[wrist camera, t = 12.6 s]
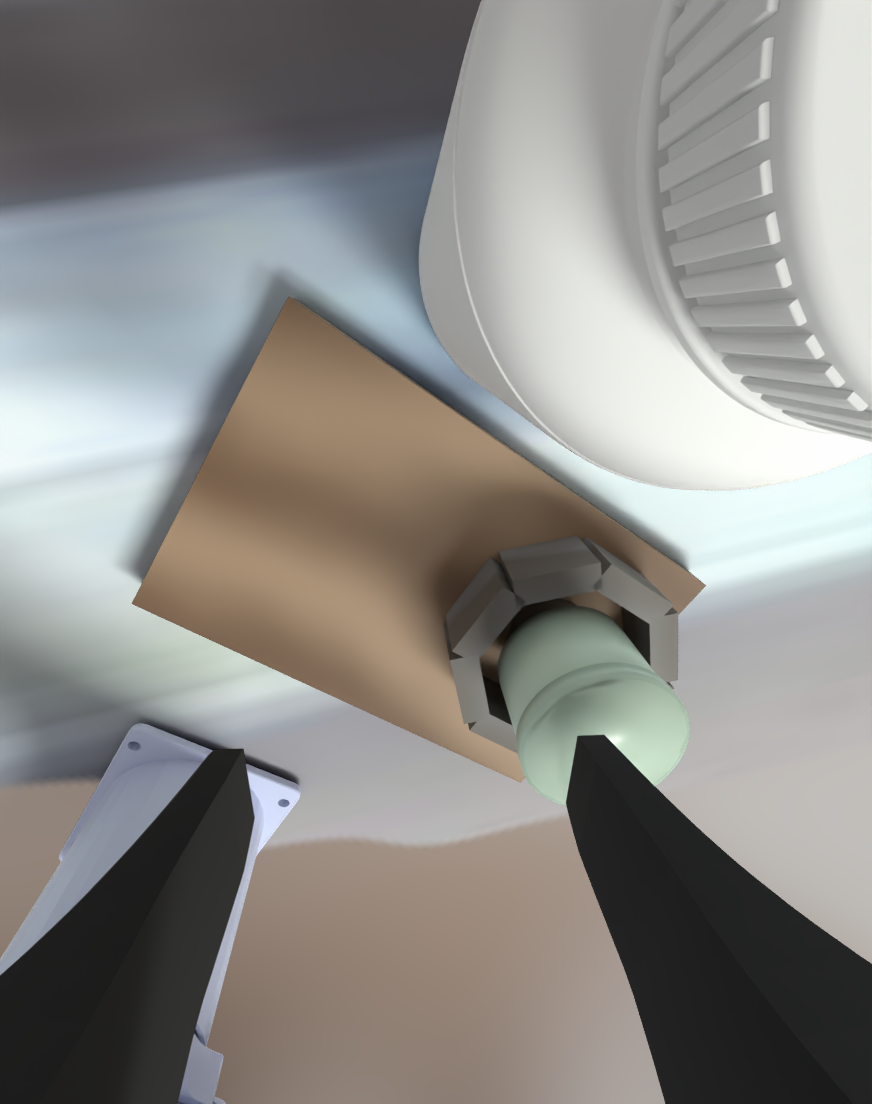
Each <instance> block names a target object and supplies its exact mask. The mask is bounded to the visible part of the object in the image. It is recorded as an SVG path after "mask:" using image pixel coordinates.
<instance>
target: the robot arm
mask: <svg viewBox="0 0 872 1104" xmlns="http://www.w3.org/2000/svg"><path fill="white" fill-rule="evenodd" d="M133 741H134V742H133ZM135 742H137V743H139V744H136V743H135ZM300 794H301V788H300V786H299V785H297V784H296V783H294V782H291V781H289V780H286V779H283V778H281V777H278V776H276V775H273V774H271V773H268V772H266V771H263V770H261V769H258V768H256V767H253V766H251V765H248V764H246V762H245V755H244V749H222V750H210V749H208V748H205V747H203V746H200V745H198V744H195V743H193V742H190V741H188V740H185V739H182V738H180V737H177V736H175V735H172V734H170V733H167V732H165V731H162V730H160V729H157V728H155V727H152V726H150V725H147V724H143V723H140V724H135V725H133V726H132V727H131V728H130V730H129V732H128V733H127V735H126V737H125V738H124V740H123V742H122V744H121V745H120V747H119V749H118V751H117V753H116V754H115V756H114V758H113V760H112V761H111V763H110V765H109V767H108V769H107V770H106V772H105V774H104V776H103V777H102V779H101V781H100V783H99V785H98V786H97V788H96V790H95V792H94V793H93V795H92V797H91V799H90V801H89V802H88V804H87V806H86V808H85V810H84V811H83V813H82V815H81V817H80V818H79V820H78V822H77V824H76V826H75V827H74V829H73V831H72V833H71V834H70V836H69V838H68V840H67V841H66V843H65V845H64V847H63V849H62V850H61V852H60V854H59V858H60V860H61V863H60V865H59V866H58V868H57V869H56V871H55V873H54V874H53V876H52V878H51V879H50V881H49V882H48V884H47V885H46V887H45V889H44V890H43V892H42V893H41V895H40V897H39V899H38V900H37V901H36V903H35V905H34V906H33V908H32V909H31V911H30V913H29V914H28V916H27V917H26V919H25V921H24V922H23V924H22V925H21V927H20V928H19V930H18V932H17V933H16V935H15V936H14V938H13V940H12V942H11V943H10V945H9V946H8V948H7V949H6V951H5V953H4V954H3V956H2V957H1V959H0V1104H226V1103H225V1102H224V1101H223V1100H222V1099H219V1098H217V1097H214V1096H215V1092H216V1087H217V1083H218V1079H219V1074H220V1070H221V1066H222V1062H223V1055H222V1054H220V1053H218V1052H215V1051H213V1050H211V1049H209V1048H207V1047H206V1045H207V1041H208V1037H209V1034H210V1030H211V1026H212V1022H213V1018H214V1014H215V1011H216V1007H217V1003H218V999H219V996H220V992H221V988H222V984H223V980H224V976H225V973H226V969H227V965H228V961H229V958H230V953H231V950H232V946H233V942H234V938H235V934H236V931H237V927H238V923H239V919H240V916H241V912H242V908H243V904H244V900H245V896H246V893H247V889H248V885H249V881H250V877H251V874H252V870H253V866H254V862H255V858H256V855H257V854H258V853H259V851H260V850H261V849H262V847H263V846H264V845H265V843H266V842H267V841H268V839H269V838H270V837H271V835H272V834H273V833H274V832H275V830H276V829H277V828H278V826H279V825H280V824H281V822H282V821H283V820H284V818H285V817H286V816H287V814H288V813H289V812H290V810H291V809H292V808H293V806H294V805H295V804H296V802H297V801H298V800H299V798H300ZM283 799H286V800H283ZM566 806H567V809H568V813H569V817H570V821H571V825H572V828H573V833H574V836H575V839H576V843H577V847H578V850H579V853H580V856H581V859H582V861H583V864H584V867H585V869H586V872H587V874H588V877H589V880H590V882H591V885H592V887H593V890H594V893H595V895H596V898H597V900H598V903H599V905H600V908H601V911H602V913H603V916H604V918H605V921H606V923H607V926H608V928H609V931H610V933H611V936H612V938H613V941H614V944H615V946H616V949H617V951H618V954H619V957H620V959H621V962H622V964H623V967H624V970H625V972H626V975H627V978H628V981H629V984H630V987H631V989H632V992H633V995H634V998H635V1002H636V1005H637V1008H638V1011H639V1015H640V1018H641V1021H642V1025H643V1028H644V1031H645V1034H646V1038H647V1041H648V1045H649V1048H650V1051H651V1054H652V1058H653V1061H654V1065H655V1068H656V1072H657V1075H658V1079H659V1082H660V1086H661V1089H662V1093H663V1096H664V1100H665V1104H872V964H871V963H870V962H868V961H867V960H865V959H864V958H862V957H860V956H859V955H858V954H856V953H855V952H853V951H852V950H851V949H849V948H848V947H847V946H845V945H844V944H842V943H841V942H840V941H838V940H837V939H835V938H834V937H832V936H831V935H830V934H828V933H827V932H825V931H824V930H823V929H821V928H820V927H818V926H817V925H815V924H814V923H813V922H812V921H810V920H809V919H808V918H806V917H805V916H804V915H802V914H801V913H799V912H798V911H797V910H795V909H794V908H793V907H791V906H790V905H789V904H787V903H786V902H785V901H784V900H782V899H781V898H780V897H779V896H778V895H776V894H775V893H774V892H772V891H771V890H770V889H768V888H767V887H766V886H765V885H764V884H762V883H761V882H760V881H759V880H757V879H756V878H755V877H754V876H752V875H751V874H750V873H749V872H748V871H746V870H745V869H744V868H743V867H741V866H740V865H739V864H738V863H737V862H736V861H734V860H733V859H732V858H731V857H730V856H729V855H727V854H726V853H725V852H724V851H723V850H722V849H721V848H720V847H718V846H717V845H716V844H715V843H714V842H713V841H712V840H710V838H708V837H707V836H706V835H705V834H704V833H702V831H701V830H700V829H698V828H697V827H696V826H695V825H694V824H693V823H692V822H691V821H690V820H689V819H688V818H687V817H686V816H685V815H684V814H683V813H681V811H679V810H678V809H677V808H676V807H675V806H674V805H673V804H672V803H671V802H670V801H669V800H668V799H667V798H666V797H665V796H664V795H663V794H662V793H661V792H660V791H659V790H658V789H657V788H656V787H655V786H654V785H653V784H652V783H651V782H650V781H649V780H648V779H647V778H646V777H645V776H644V775H643V774H642V773H641V772H640V771H639V770H638V769H637V768H636V767H635V766H634V765H633V764H632V762H631V761H630V760H629V759H628V758H627V757H626V756H625V755H624V754H623V753H622V752H621V751H620V750H619V749H618V748H617V747H616V746H615V745H614V744H613V743H612V742H611V741H610V740H609V739H608V738H607V737H606V736H605V735H581V736H577V741H576V747H575V753H574V758H573V764H572V770H571V776H570V781H569V787H568V793H567V798H566Z"/></svg>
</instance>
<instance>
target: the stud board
mask: <svg viewBox="0 0 872 1104" xmlns="http://www.w3.org/2000/svg"><path fill="white" fill-rule="evenodd" d="M705 586H706V585H705V584H704V583H702V582H701V581H700V580H699V579H697V578H696V577H695V576H694V575H693V574H691V573H690V572H689V571H687V570H686V569H684V568H683V567H682V566H680V565H679V564H677V563H676V562H674V561H673V560H671V559H670V558H669V557H667V556H666V555H664V554H663V553H661V552H660V551H658V550H657V549H656V548H654V547H653V546H651V545H650V544H648V543H647V542H645V541H644V540H643V539H641V538H640V537H638V536H637V535H635V534H634V533H632V532H631V531H630V530H628V529H627V528H625V527H624V526H622V525H621V524H619V523H618V522H617V521H615V520H614V519H612V518H611V517H609V516H608V515H607V514H605V513H604V512H602V511H601V510H599V509H598V508H596V507H595V506H594V505H592V504H591V503H589V502H588V501H586V500H585V499H583V498H582V497H581V496H579V495H578V494H576V493H575V492H573V491H572V490H570V489H569V488H568V487H566V486H565V485H563V484H562V483H560V482H559V481H557V480H556V479H555V478H553V477H552V476H550V475H549V474H547V473H546V472H544V471H543V470H542V469H540V468H539V467H537V466H536V465H534V464H533V463H531V462H530V461H529V460H527V459H526V458H524V457H523V456H521V455H520V454H519V453H517V452H516V451H514V450H513V449H511V448H510V447H508V446H507V445H506V444H504V443H503V442H501V441H500V440H498V439H497V438H495V437H494V436H493V435H491V434H490V433H488V432H487V431H485V430H484V429H482V428H481V427H480V426H478V425H477V424H475V423H474V422H472V421H471V420H469V419H468V418H467V417H465V416H464V415H462V414H461V413H459V412H458V411H456V410H455V409H454V408H452V407H451V406H449V405H448V404H446V403H445V402H443V401H442V400H441V399H439V398H438V397H436V396H435V395H433V394H432V393H431V392H429V391H428V390H426V389H425V388H423V387H422V386H420V385H419V384H418V383H416V382H415V381H413V380H412V379H410V378H409V377H407V376H406V375H405V374H403V373H402V372H400V371H399V370H397V369H396V368H394V367H393V366H392V365H390V364H389V363H387V362H386V361H384V360H383V359H381V358H380V357H379V356H377V355H376V354H374V353H373V352H371V351H370V350H368V349H367V348H366V347H364V346H363V345H361V344H360V343H358V342H357V341H356V340H354V339H353V338H351V337H350V336H348V335H347V334H345V333H344V332H343V331H341V330H340V329H338V328H337V327H335V326H334V325H332V324H331V323H330V322H328V321H327V320H325V319H324V318H322V317H321V316H319V315H318V314H317V313H315V312H314V311H312V310H311V309H309V308H308V307H306V306H305V305H304V304H302V303H301V302H299V301H298V300H296V299H294V298H291V297H288V298H287V300H286V302H285V304H284V306H283V308H282V310H281V312H280V314H279V316H278V318H277V320H276V322H275V323H274V325H273V327H272V329H271V331H270V333H269V335H268V337H267V339H266V341H265V343H264V345H263V347H262V349H261V351H260V353H259V355H258V357H257V359H256V361H255V363H254V365H253V367H252V369H251V371H250V373H249V374H248V376H247V378H246V380H245V382H244V384H243V386H242V388H241V390H240V392H239V394H238V396H237V398H236V400H235V402H234V404H233V406H232V408H231V410H230V412H229V414H228V416H227V418H226V420H225V422H224V424H223V426H222V427H221V429H220V431H219V433H218V435H217V437H216V439H215V441H214V443H213V445H212V447H211V449H210V451H209V453H208V455H207V457H206V459H205V461H204V463H203V465H202V467H201V469H200V471H199V473H198V475H197V477H196V478H195V480H194V482H193V484H192V486H191V488H190V490H189V492H188V494H187V496H186V498H185V500H184V502H183V504H182V506H181V508H180V510H179V512H178V514H177V516H176V518H175V520H174V522H173V524H172V526H171V528H170V530H169V531H168V533H167V535H166V537H165V539H164V541H163V543H162V545H161V547H160V549H159V551H158V553H157V555H156V557H155V559H154V561H153V563H152V565H151V567H150V569H149V571H148V573H147V575H146V577H145V579H144V581H143V582H142V584H141V586H140V588H139V590H138V592H137V594H136V596H135V598H134V600H133V602H132V604H133V605H135V606H138V607H140V608H142V609H144V610H146V611H148V612H151V613H153V614H155V615H157V616H159V617H161V618H164V619H166V620H168V621H170V622H172V623H175V624H177V625H179V626H181V627H183V628H185V629H188V630H190V631H192V632H194V633H196V634H198V635H201V636H203V637H205V638H207V639H209V640H211V641H214V642H216V643H218V644H220V645H222V646H225V647H227V648H229V649H231V650H233V651H235V652H238V653H240V654H242V655H244V656H246V657H248V658H251V659H253V660H255V661H257V662H259V663H261V664H264V665H266V666H268V667H270V668H272V669H275V670H277V671H279V672H281V673H283V674H285V675H288V676H290V677H292V678H294V679H296V680H298V681H301V682H303V683H305V684H307V685H309V686H311V687H314V688H316V689H318V690H320V691H322V692H325V693H327V694H329V695H331V696H333V697H335V698H338V699H340V700H342V701H344V702H346V703H348V704H351V705H353V706H355V707H357V708H359V709H361V710H364V711H366V712H368V713H370V714H372V715H375V716H377V717H379V718H381V719H383V720H385V721H388V722H390V723H392V724H394V725H396V726H398V727H401V728H403V729H405V730H407V731H409V732H411V733H414V734H416V735H418V736H420V737H422V738H425V739H427V740H429V741H431V742H433V743H435V744H438V745H440V746H442V747H444V748H446V749H448V750H451V751H453V752H455V753H457V754H459V755H462V756H464V757H466V758H468V759H470V760H472V761H475V762H477V763H479V764H481V765H483V766H485V767H488V768H490V769H492V770H494V771H496V772H498V773H501V774H503V775H505V776H507V777H509V778H512V779H514V780H516V781H518V782H521V781H522V780H523V779H524V778H525V776H524V773H523V770H522V768H521V764H520V761H519V757H518V754H517V749H516V736H515V732H514V729H513V726H512V722H511V719H510V716H509V712H508V709H507V706H506V702H505V699H504V696H503V692H502V689H501V686H500V682H499V678H498V660H499V656H500V653H501V650H502V648H503V646H504V644H505V642H506V641H507V639H508V638H509V636H510V635H511V634H512V633H513V632H514V631H515V630H516V629H517V628H518V627H519V626H520V625H521V624H522V623H524V622H525V621H526V620H528V619H529V618H531V617H533V616H534V615H536V614H539V613H541V612H543V611H546V610H549V609H552V608H556V607H562V606H584V607H589V608H593V609H596V610H598V611H601V612H603V613H605V614H606V615H608V616H610V617H611V618H612V619H613V620H614V621H615V622H616V623H617V624H618V625H619V626H620V627H621V629H622V630H623V631H624V633H625V634H626V635H627V637H628V638H629V639H630V641H631V642H632V643H633V644H634V646H635V647H636V648H637V650H638V651H639V652H640V654H641V655H642V656H643V658H644V659H645V660H646V661H647V663H648V664H649V665H650V667H651V668H652V669H653V671H654V672H655V673H656V674H657V675H658V676H660V677H661V678H662V679H664V680H665V681H666V683H667V684H668V685H669V686H670V687H671V688H672V690H673V689H674V688H673V686H672V685H671V684H670V683H669V682H670V681H675V680H678V615H679V614H680V613H681V612H682V611H683V609H684V608H685V607H686V606H687V605H688V604H689V603H690V602H691V601H692V600H693V599H694V598H695V597H696V596H697V595H698V594H699V592H700V591H701V590H702V589H703V588H704V587H705Z"/></svg>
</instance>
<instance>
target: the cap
mask: <svg viewBox="0 0 872 1104" xmlns="http://www.w3.org/2000/svg"><path fill="white" fill-rule="evenodd" d="M498 678H499V682H500V686H501V689H502V692H503V696H504V699H505V702H506V706H507V709H508V712H509V716H510V719H511V722H512V726H513V729H514V732H515V736H516V749H517V754H518V757H519V761H520V764H521V768H522V770H523V773H524V776H525V778H526V779H527V781H528V782H529V784H530V785H531V786H532V787H533V788H534V790H536V791H537V792H538V793H539V794H540V795H542V796H544V797H545V798H547V799H549V800H551V801H553V802H555V803H558V804H562V805H565V806H566V798H567V793H568V787H569V781H570V776H571V770H572V764H573V758H574V753H575V747H576V741H577V736H581V735H605V736H606V737H607V738H608V739H609V740H610V741H611V742H612V743H613V744H614V745H615V746H616V747H617V748H618V749H619V750H620V751H621V752H622V753H623V754H624V755H625V756H626V757H627V758H628V759H629V760H630V761H631V762H632V764H633V765H634V766H635V767H636V768H637V769H638V770H639V771H640V772H641V773H642V774H643V775H644V776H645V777H646V778H647V779H648V780H649V781H650V782H651V783H652V784H653V785H654V786H656V785H657V784H658V783H659V782H661V781H662V780H663V779H664V778H665V777H666V776H667V775H668V774H669V773H670V772H671V771H672V770H673V769H674V768H675V766H676V765H677V764H678V762H679V761H680V759H681V757H682V755H683V753H684V751H685V749H686V746H687V743H688V740H689V733H690V723H689V717H688V714H687V711H686V708H685V706H684V705H683V703H682V702H681V700H680V699H679V697H678V696H677V695H676V694H675V692H674V691H673V690H672V688H671V687H670V686H669V685H668V684H667V683H666V681H665V680H664V679H662V678H661V677H660V676H658V675H657V674H656V673H655V672H654V671H653V669H652V668H651V667H650V665H649V664H648V663H647V661H646V660H645V659H644V658H643V656H642V655H641V654H640V652H639V651H638V650H637V648H636V647H635V646H634V644H633V643H632V642H631V641H630V639H629V638H628V637H627V635H626V634H625V633H624V631H623V630H622V629H621V627H620V626H619V625H618V624H617V623H616V622H615V621H614V620H613V619H612V618H611V617H610V616H608V615H606V614H605V613H603V612H601V611H598V610H596V609H593V608H589V607H584V606H562V607H556V608H552V609H549V610H546V611H543V612H541V613H539V614H536V615H534V616H533V617H531V618H529V619H528V620H526V621H525V622H524V623H522V624H521V625H520V626H519V627H518V628H517V629H516V630H515V631H514V632H513V633H512V634H511V635H510V636H509V638H508V639H507V641H506V642H505V644H504V646H503V648H502V650H501V653H500V656H499V660H498Z"/></svg>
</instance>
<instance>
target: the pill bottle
mask: <svg viewBox="0 0 872 1104" xmlns="http://www.w3.org/2000/svg"><path fill="white" fill-rule="evenodd" d="M419 277H420V286H421V292H422V297H423V301H424V305H425V309H426V312H427V315H428V318H429V321H430V323H431V326H432V328H433V330H434V332H435V334H436V336H437V338H438V340H439V342H440V343H441V345H442V347H443V348H444V350H445V351H446V353H447V354H448V355H449V357H450V358H451V359H452V360H453V361H454V363H455V364H456V365H457V366H458V367H459V368H460V369H461V370H462V371H463V372H464V373H465V374H466V375H468V376H469V377H470V378H471V379H473V380H474V381H475V382H477V383H478V384H479V385H481V386H482V387H483V388H485V389H486V390H488V391H489V392H490V393H492V394H493V395H494V396H496V397H497V398H498V399H500V400H501V401H502V402H504V403H505V404H506V405H508V406H509V407H510V408H512V409H513V410H514V411H516V412H517V413H519V414H520V415H521V416H523V417H524V418H525V419H527V420H528V421H529V422H531V423H532V424H533V425H535V426H536V427H537V428H539V429H540V430H541V431H543V432H544V433H546V434H547V435H548V436H550V437H551V438H552V439H554V440H555V441H556V442H558V443H559V444H561V445H562V446H564V447H565V448H567V449H568V450H570V451H571V452H573V453H574V454H576V455H578V456H579V457H581V458H583V459H585V460H586V461H588V462H590V463H592V464H594V465H596V466H598V467H600V468H602V469H604V470H607V471H609V472H611V473H614V474H616V475H619V476H621V477H624V478H627V479H630V480H633V481H637V482H640V483H644V484H648V485H653V486H658V487H664V488H671V489H681V490H711V491H720V490H740V489H750V488H758V487H764V486H770V485H776V484H781V483H785V482H790V481H794V480H798V479H801V478H805V477H809V476H812V475H815V474H818V473H821V472H824V471H827V470H830V469H833V468H835V467H838V466H841V465H843V464H845V463H848V462H850V461H853V460H855V459H857V458H859V457H862V456H864V455H866V454H868V453H870V452H872V0H481V3H480V6H479V9H478V12H477V15H476V18H475V21H474V24H473V27H472V31H471V34H470V37H469V41H468V44H467V48H466V52H465V55H464V59H463V63H462V67H461V71H460V75H459V79H458V83H457V87H456V91H455V95H454V99H453V103H452V107H451V111H450V115H449V119H448V123H447V127H446V131H445V135H444V139H443V143H442V147H441V151H440V155H439V159H438V163H437V167H436V171H435V175H434V179H433V183H432V187H431V192H430V196H429V200H428V204H427V208H426V212H425V216H424V220H423V224H422V230H421V236H420V245H419Z"/></svg>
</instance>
